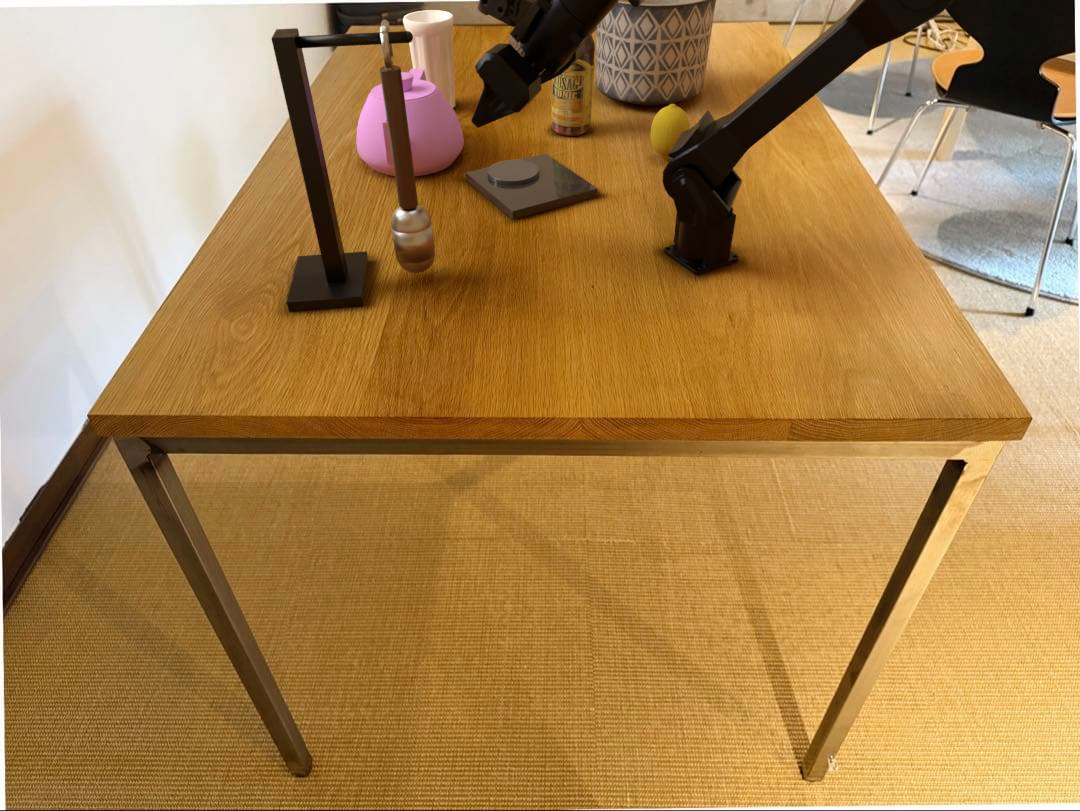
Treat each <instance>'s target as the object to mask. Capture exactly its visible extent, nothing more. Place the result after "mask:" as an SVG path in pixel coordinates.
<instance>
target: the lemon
mask: <svg viewBox="0 0 1080 811" xmlns="http://www.w3.org/2000/svg"><path fill="white" fill-rule="evenodd" d="M689 129H691V126H690V120H689V116H688V114H687V113H686V112H685V110H684V109H683V108H682V107H679V106H677V105H676V104H675V103H669V104H668V105H667V106H664V107H663V108H661V109H660V110H658V112H657V113H656V114H655V115H654V117H653V119H652V123H651V127H650V143H651V146H652V148H653V150H654V151H655V152H656V153H657V154H658V155H660V156H662V157H663V158H664V159H665V160H668V161H669V160H670V159H671V157H669V156H668V154H669V152H670V151H671V149H672V148H673V146H674V145H675V143H676V141H677V140H678V138H679V137H680V135H681V133H682V132H684V131H686V130H689Z"/></svg>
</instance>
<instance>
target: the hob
mask: <svg viewBox="0 0 1080 811" xmlns="http://www.w3.org/2000/svg"><path fill="white" fill-rule="evenodd" d="M464 175H465V181H466V182H467V183H468V184H469V185H471V186H472V187H473V188H474V189H475V190H476V191H478V192H479V193H480V194H481V195H483V196H484V197H485V198H486V199H487V200H488V201H489V202H491V203H492V204H493V205H494V206H496V207H497V208H498V209H499V210H500V211H502V212H503V213H504V214H505V215H506V216H508V217H509V218H510V219H511V220H518V219H520V218H521V219H522V218H525V217H528V216H531V215H535V214H539V213H543V212H546V211H549V210H553V209H556V208H560V207H561V208H562V207H564V206H568V205H571V204H575V203H579V202H582V201H587V200H589V199H593V198H597V197H598V191H599V190H598V187H596V186H595V185H594V184H592V183H591V182H589V181H587V180H586V179H584V178H583V177H581V176H580V175H579V174H577V173H575V171H573V170H572V169H570V168H568V167H567V166H565V165H564V164H563V163H561V162H560V161H558V160H556V159H555V158H553V157H552V156H551V155H549V154H548V153H546V152H544V153H541V154H536V155H533V156H528V157H524V158H519V159H507V160H506V159H505V160H501V161H497V162H494V163H493V164H491V165H490V166H488V167H482V168H480V169H479V168H478V169H474V170H471V171H466V172H465V174H464Z"/></svg>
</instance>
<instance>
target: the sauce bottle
mask: <svg viewBox="0 0 1080 811" xmlns="http://www.w3.org/2000/svg"><path fill="white" fill-rule="evenodd" d="M595 53H596V42H595V40H594V38H593V34H592V35H591V36H590V37H589V38H587V39H586V40H585V51H584V52H583V54H582V55H581V56H580V57H579V58H578V59H577V60H576V62H575V63H574V64H572V65H571V66H570V67H569V68H568V69H567V70H565V71H564V72H563V73H562V74H561V75H559V76H557V77H555V78H553V79H552V83H551V84H552V86H551V88H552V89H551V114H550V115H551V116H550V118H551V121H552V122H551V127H552V131H553V132H555V133H556V134H558V135H560V136H561V135H562V136H570V137H579V136H582V135H583V134H586V133H587V132H588V131H589V130H590V123H591V122H592V108H593V91H594V77H595V76H594V75H595Z"/></svg>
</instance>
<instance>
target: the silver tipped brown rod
mask: <svg viewBox="0 0 1080 811" xmlns="http://www.w3.org/2000/svg"><path fill="white" fill-rule="evenodd" d="M379 32H380V37H381V44H380V45H381V50H382V58H383V64H384V65H382V66H381V67H380V68H379V77H380V84H382V91H383V97H384V104H385V111H386V118H387V125H388V131H389V138H390V145H391V152H392V159H393V165H394V172H395V176H394V179H395V185H396V192H397V199H398V204H399V205H398V207H397V208H395V210H394V211H393V213H392V214H391V215H392V216H391V218H390V219H391V220H390V228H391V234H392V240H393V247H394V253H395V258H396V261H397V263H398V266H400V267H401V268H402V270H405V271H406V272H407V273H411V274H420V273H421V274H422V273H424V272H426V271H427V270H429V269H430V268H431V267H432V266H433V264H434V262H435V259H436V246H435V239H434V231H433V230H434V229H433V221H432V218H431V215H430V213H429V212H428V210H427V209H426V208H424V207H423V206H422V205H420V204H419V201H418V200H419V199H418V193H417V192H418V190H417V185H416V184H417V182H416V178H415V177H416V176H414V168H413V160H412V152H411V145H410V137H409V129H408V121H407V114H406V106H405V98H404V90H403V83H402V75H401V72H402V68H401V67H400V66H399V65H395V64H394V52H393V44H389V38H388V32H391V29H390V23H389V21H388V20H387V19H383V20H381V22H380V28H379Z"/></svg>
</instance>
